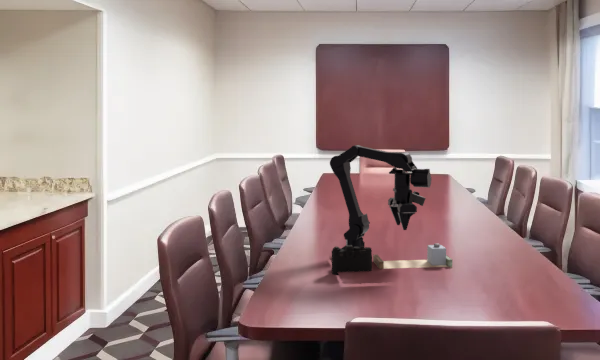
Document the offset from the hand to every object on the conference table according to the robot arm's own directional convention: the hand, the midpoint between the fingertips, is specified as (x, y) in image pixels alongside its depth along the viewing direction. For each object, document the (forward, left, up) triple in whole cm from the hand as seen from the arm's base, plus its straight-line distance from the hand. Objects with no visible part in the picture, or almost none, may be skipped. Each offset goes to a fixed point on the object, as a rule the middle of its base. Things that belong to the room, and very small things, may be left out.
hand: (401, 227), depth 209 cm
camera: (-22, -14, -12) cm, 29 cm away
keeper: (+10, -11, -11) cm, 18 cm away
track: (+1, -11, -12) cm, 16 cm away
